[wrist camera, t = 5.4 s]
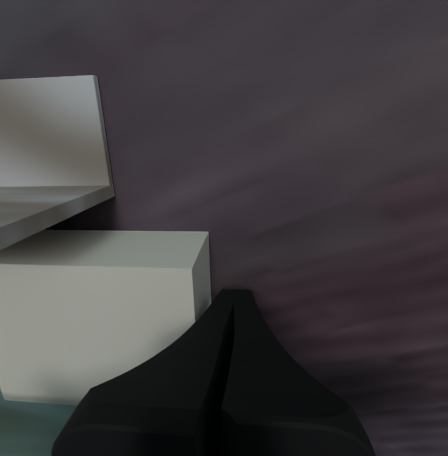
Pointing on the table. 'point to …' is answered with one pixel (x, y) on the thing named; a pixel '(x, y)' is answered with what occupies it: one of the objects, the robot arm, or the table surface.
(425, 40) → the table surface
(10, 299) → the white rectangular box
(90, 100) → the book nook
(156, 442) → the robot arm
